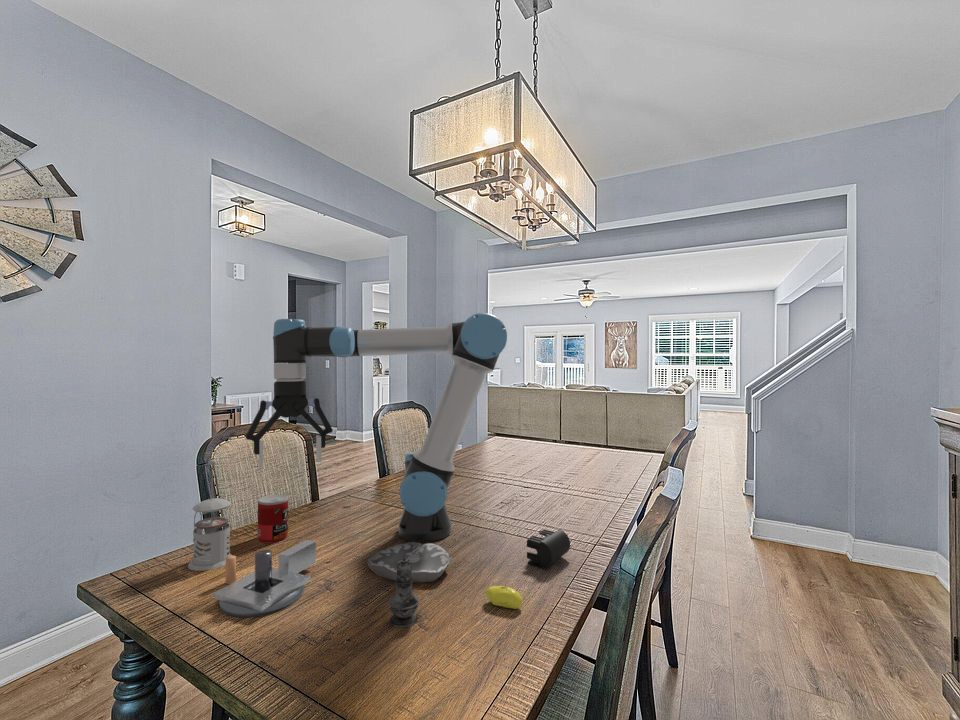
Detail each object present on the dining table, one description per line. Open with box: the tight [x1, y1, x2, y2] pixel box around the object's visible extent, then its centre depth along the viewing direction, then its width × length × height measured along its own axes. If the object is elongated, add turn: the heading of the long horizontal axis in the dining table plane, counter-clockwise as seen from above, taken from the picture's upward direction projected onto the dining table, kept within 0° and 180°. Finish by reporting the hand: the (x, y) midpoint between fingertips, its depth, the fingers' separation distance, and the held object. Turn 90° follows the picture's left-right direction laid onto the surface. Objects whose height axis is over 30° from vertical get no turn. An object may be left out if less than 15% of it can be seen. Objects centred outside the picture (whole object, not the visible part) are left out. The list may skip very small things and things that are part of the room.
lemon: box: [484, 585, 523, 610], centre depth 92 cm, size 4×8×4 cm, turn 61°
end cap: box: [526, 529, 571, 570], centre depth 112 cm, size 10×7×7 cm
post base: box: [218, 549, 305, 618], centre depth 95 cm, size 16×16×9 cm
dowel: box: [225, 555, 237, 586], centre depth 101 cm, size 2×2×6 cm
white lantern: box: [187, 459, 234, 572], centre depth 111 cm, size 10×12×25 cm
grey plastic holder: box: [212, 539, 317, 612], centre depth 98 cm, size 20×13×5 cm, turn 159°
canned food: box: [257, 494, 290, 544], centre depth 126 cm, size 8×8×11 cm
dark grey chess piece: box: [388, 557, 421, 628], centre depth 87 cm, size 6×6×12 cm
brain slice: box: [367, 541, 453, 583], centre depth 108 cm, size 20×17×3 cm
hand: (290, 464), depth 114 cm, fingers open, 13 cm apart
